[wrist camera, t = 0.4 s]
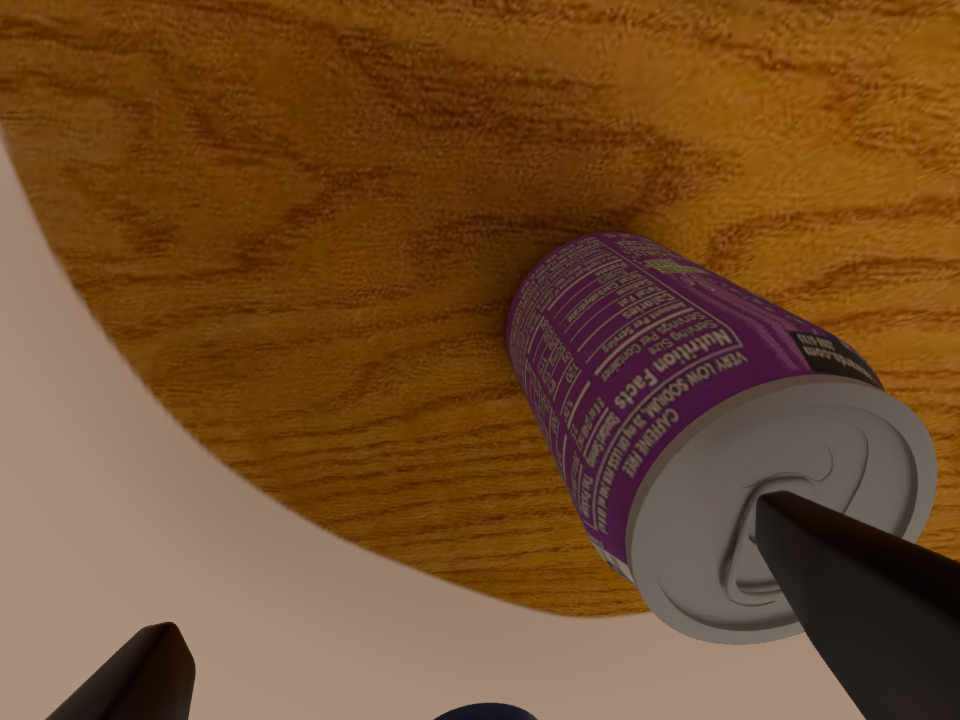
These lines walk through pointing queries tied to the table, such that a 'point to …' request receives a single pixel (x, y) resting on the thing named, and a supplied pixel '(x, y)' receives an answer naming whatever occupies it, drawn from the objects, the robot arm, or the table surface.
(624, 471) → the beverage can
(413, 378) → the table surface
